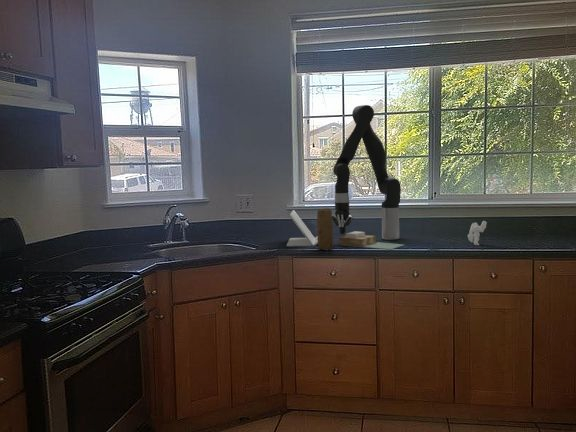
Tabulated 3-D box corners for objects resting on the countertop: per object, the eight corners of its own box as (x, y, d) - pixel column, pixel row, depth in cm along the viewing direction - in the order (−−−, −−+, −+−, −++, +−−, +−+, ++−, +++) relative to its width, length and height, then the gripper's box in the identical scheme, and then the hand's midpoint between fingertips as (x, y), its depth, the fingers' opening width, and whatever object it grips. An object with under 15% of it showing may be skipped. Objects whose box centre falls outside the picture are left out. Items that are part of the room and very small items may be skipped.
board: (352, 241, 281) (352, 234, 281) (375, 243, 272) (375, 235, 272) (338, 245, 270) (338, 237, 270) (361, 247, 261) (361, 239, 261)
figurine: (488, 244, 258) (488, 220, 256) (481, 246, 255) (481, 221, 253) (470, 242, 266) (471, 219, 265) (464, 243, 263) (464, 220, 262)
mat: (377, 242, 274) (377, 242, 274) (404, 245, 264) (404, 244, 264) (362, 247, 262) (362, 246, 262) (390, 249, 252) (390, 249, 252)
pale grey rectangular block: (355, 235, 277) (355, 231, 277) (364, 235, 273) (364, 232, 273) (345, 237, 270) (345, 233, 270) (355, 238, 266) (355, 234, 266)
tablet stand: (286, 246, 272) (285, 214, 270) (289, 239, 297) (289, 209, 295) (321, 246, 270) (320, 213, 269) (321, 238, 295) (321, 209, 293)
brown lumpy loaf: (333, 250, 256) (332, 209, 253) (318, 250, 256) (317, 210, 254) (332, 246, 266) (331, 207, 264) (317, 247, 266) (316, 208, 264)
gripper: (356, 201, 273) (357, 234, 275) (335, 200, 282) (336, 232, 283) (348, 202, 267) (349, 235, 269) (327, 201, 276) (328, 234, 278)
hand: (342, 234), depth 276 cm, fingers closed
